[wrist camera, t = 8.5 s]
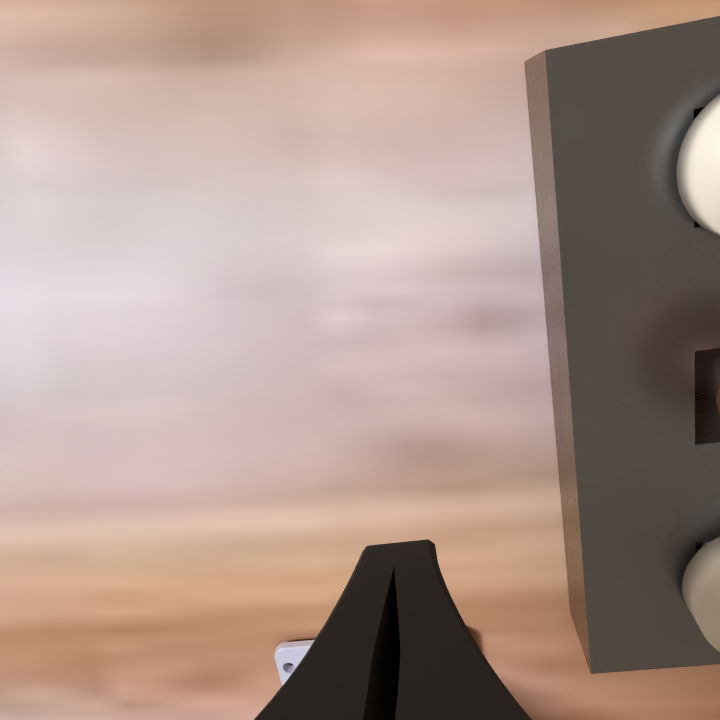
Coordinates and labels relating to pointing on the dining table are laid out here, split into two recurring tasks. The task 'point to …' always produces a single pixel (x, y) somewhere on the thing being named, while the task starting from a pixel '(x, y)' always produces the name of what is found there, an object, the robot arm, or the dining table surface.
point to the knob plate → (628, 334)
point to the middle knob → (718, 399)
